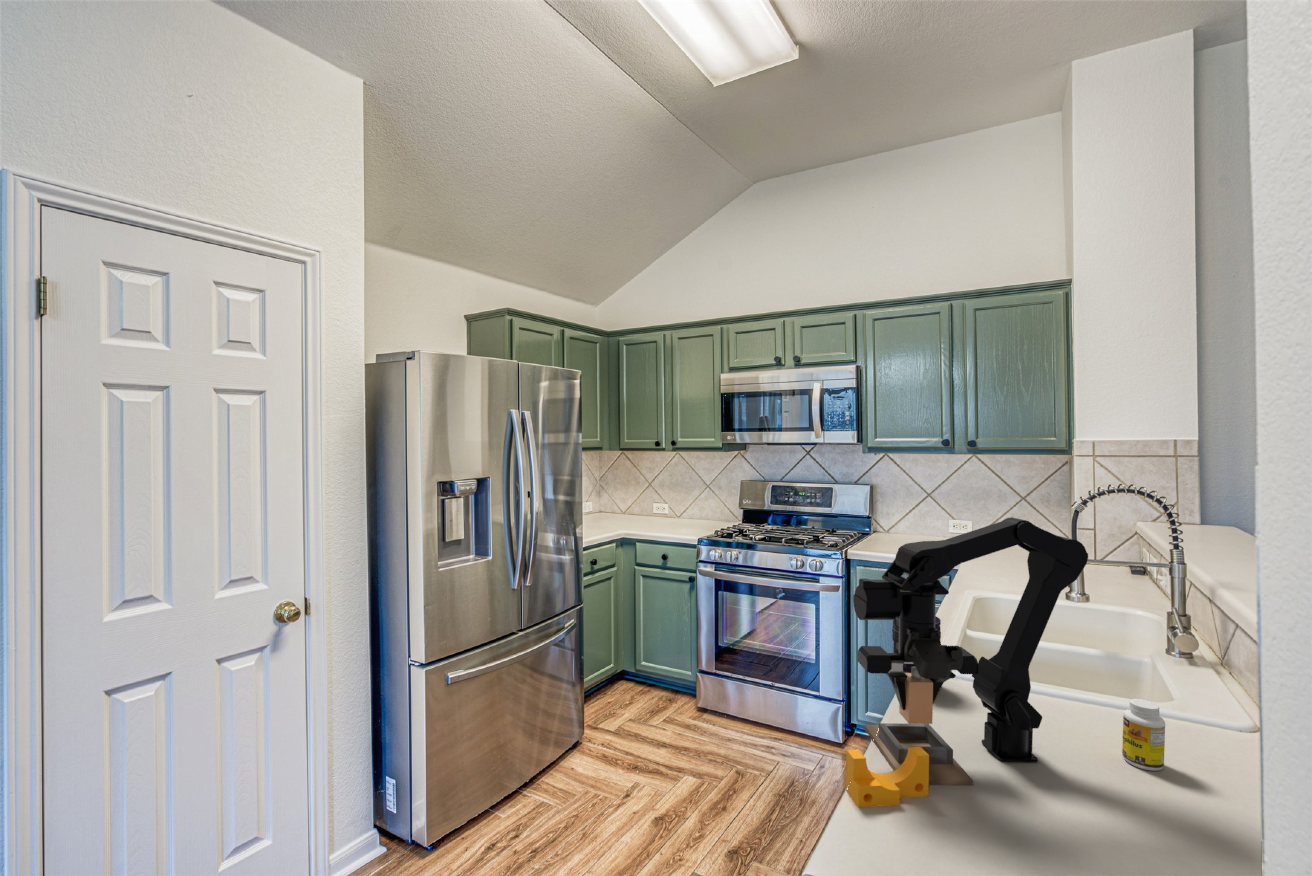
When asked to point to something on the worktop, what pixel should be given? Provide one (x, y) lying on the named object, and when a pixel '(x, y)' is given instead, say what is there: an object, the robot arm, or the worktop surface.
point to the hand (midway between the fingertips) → (915, 709)
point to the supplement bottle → (1143, 735)
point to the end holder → (902, 736)
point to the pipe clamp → (887, 779)
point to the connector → (918, 699)
